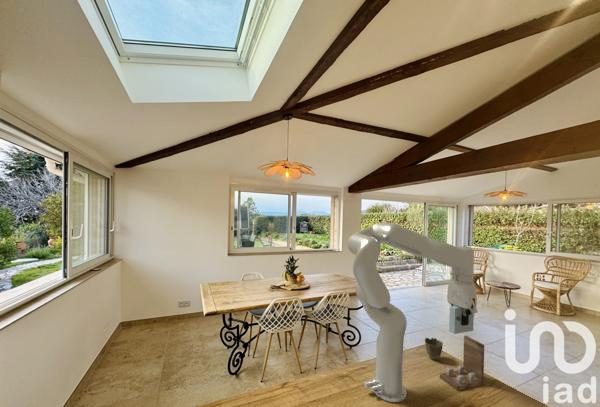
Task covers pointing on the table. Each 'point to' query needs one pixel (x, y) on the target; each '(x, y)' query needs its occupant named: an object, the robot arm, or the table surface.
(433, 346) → the cup
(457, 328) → the door
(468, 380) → the cabinet base
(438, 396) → the table surface
